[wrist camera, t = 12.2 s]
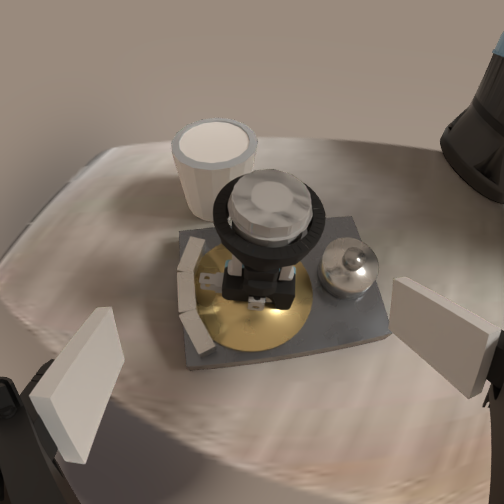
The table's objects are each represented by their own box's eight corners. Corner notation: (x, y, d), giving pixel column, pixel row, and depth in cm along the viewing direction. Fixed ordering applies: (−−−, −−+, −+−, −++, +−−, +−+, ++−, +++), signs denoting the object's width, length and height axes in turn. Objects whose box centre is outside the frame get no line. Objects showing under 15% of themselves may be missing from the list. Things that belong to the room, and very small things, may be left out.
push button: (196, 320, 21) (169, 236, 12) (207, 254, 24) (195, 151, 15) (293, 330, 21) (334, 252, 12) (295, 263, 24) (326, 163, 15)
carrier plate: (346, 226, 28) (360, 197, 25) (384, 338, 22) (408, 320, 19) (180, 241, 26) (173, 210, 23) (188, 370, 21) (178, 358, 17)
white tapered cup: (265, 214, 28) (273, 155, 22) (193, 237, 27) (183, 179, 21) (236, 166, 32) (238, 110, 26) (172, 185, 30) (162, 128, 24)
